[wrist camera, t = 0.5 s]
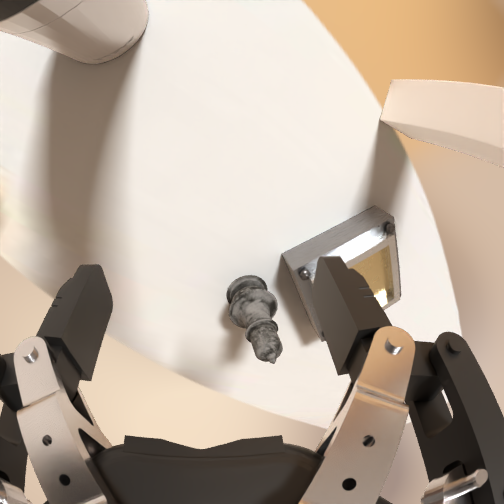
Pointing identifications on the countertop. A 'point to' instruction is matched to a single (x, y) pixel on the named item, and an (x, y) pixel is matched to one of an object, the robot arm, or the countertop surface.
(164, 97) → the countertop surface
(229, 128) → the countertop surface
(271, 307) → the grey stone figure
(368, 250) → the grey square box
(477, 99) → the milk
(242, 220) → the countertop surface
